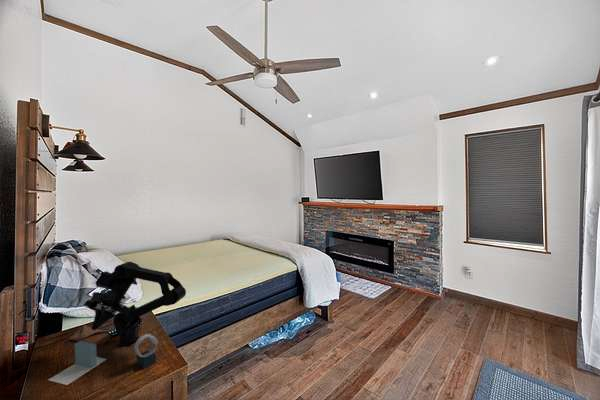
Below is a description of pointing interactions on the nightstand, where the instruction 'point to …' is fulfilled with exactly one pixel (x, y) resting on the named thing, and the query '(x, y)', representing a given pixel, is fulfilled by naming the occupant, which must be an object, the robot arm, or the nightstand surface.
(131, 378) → the nightstand surface
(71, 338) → the sunglasses case
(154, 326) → the nightstand surface
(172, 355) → the nightstand surface
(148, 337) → the watch
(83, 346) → the teal tile
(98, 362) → the felt mat
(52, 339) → the nightstand surface
